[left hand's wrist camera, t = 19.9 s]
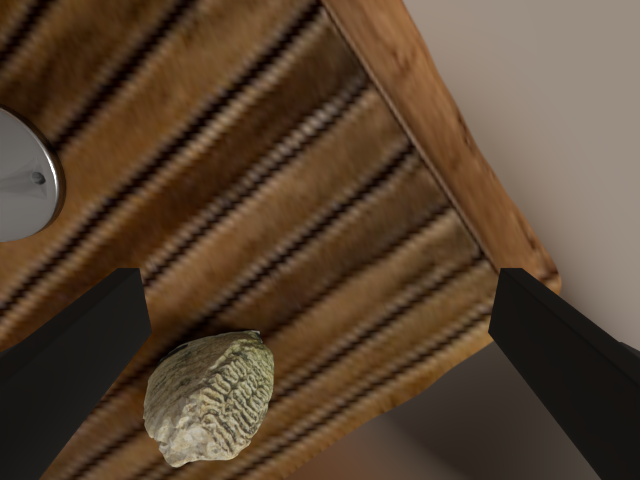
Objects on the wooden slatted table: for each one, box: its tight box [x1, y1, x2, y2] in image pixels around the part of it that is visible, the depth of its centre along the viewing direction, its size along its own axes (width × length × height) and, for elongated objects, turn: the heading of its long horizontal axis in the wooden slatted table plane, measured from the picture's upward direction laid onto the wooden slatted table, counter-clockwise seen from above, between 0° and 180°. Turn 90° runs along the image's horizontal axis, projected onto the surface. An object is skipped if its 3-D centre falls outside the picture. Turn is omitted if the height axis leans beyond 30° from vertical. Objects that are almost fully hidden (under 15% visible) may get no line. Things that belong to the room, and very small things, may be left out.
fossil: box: [143, 330, 274, 467], centre depth 40 cm, size 9×18×15 cm, turn 123°
